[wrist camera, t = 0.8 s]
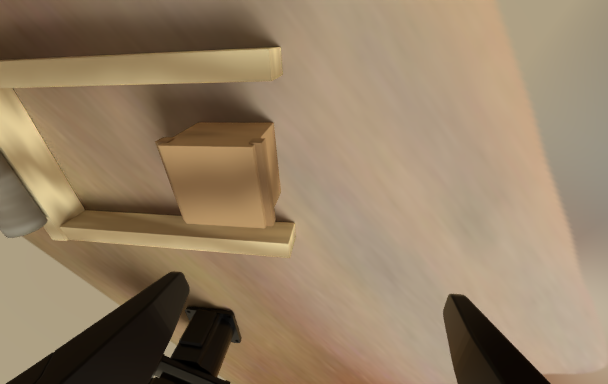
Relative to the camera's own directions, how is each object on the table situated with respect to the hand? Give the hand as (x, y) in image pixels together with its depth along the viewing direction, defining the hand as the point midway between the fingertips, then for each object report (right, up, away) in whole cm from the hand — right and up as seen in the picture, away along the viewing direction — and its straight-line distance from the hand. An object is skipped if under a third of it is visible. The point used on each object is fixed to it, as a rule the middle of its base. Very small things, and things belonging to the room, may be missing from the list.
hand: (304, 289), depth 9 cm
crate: (-5, +6, +12) cm, 15 cm away
